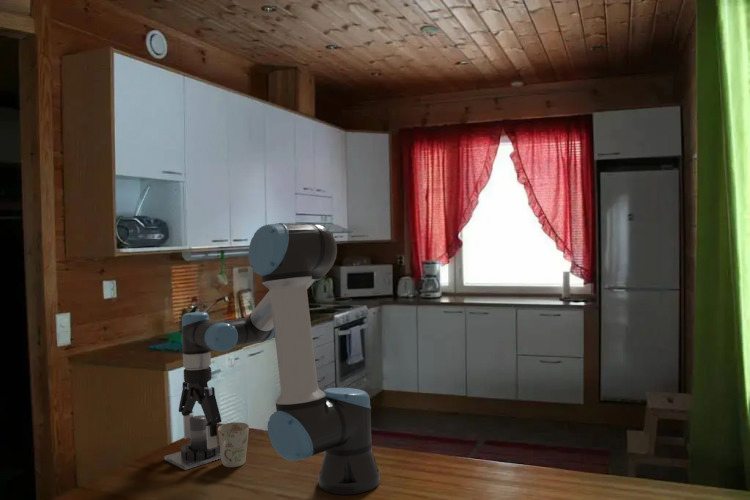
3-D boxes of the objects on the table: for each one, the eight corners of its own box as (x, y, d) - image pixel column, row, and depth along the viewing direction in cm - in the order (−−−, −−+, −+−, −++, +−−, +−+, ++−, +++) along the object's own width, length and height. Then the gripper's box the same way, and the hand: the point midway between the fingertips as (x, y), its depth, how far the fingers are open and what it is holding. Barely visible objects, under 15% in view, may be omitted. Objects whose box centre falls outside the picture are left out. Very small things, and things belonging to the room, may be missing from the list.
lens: (212, 452, 173) (211, 417, 173) (196, 457, 170) (194, 421, 170) (203, 448, 177) (202, 414, 177) (187, 453, 173) (186, 418, 173)
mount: (236, 453, 175) (236, 443, 175) (185, 470, 163) (184, 459, 163) (215, 444, 183) (214, 434, 183) (164, 459, 172) (164, 449, 172)
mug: (253, 457, 171) (252, 422, 170) (239, 476, 158) (238, 438, 158) (224, 457, 172) (223, 421, 171) (207, 475, 159) (207, 437, 159)
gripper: (232, 370, 167) (235, 448, 167) (188, 359, 184) (191, 430, 184) (207, 375, 161) (210, 456, 162) (164, 364, 179) (167, 436, 179)
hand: (200, 442), depth 173 cm, fingers open, 12 cm apart
